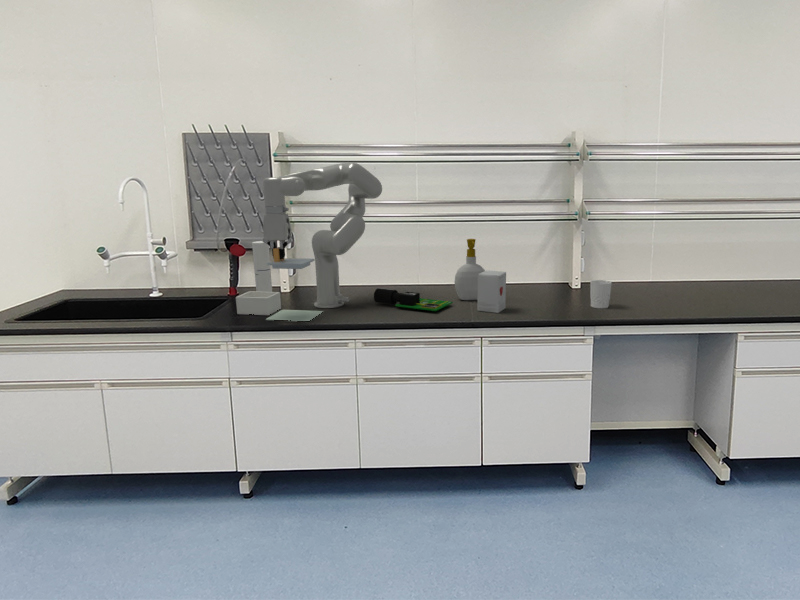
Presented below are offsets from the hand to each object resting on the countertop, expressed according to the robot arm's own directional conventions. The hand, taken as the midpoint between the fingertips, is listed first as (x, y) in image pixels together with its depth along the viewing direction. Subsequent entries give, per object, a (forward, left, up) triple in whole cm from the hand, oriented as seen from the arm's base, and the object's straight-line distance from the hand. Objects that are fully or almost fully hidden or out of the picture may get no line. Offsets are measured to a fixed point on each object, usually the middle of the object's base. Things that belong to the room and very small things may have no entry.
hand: (279, 258), depth 215 cm
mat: (-5, 0, -23) cm, 23 cm away
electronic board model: (-47, -23, -23) cm, 57 cm away
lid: (-5, 0, -3) cm, 6 cm away
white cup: (-122, -32, -23) cm, 128 cm away
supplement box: (-80, -21, -23) cm, 86 cm away
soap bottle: (-70, -37, -23) cm, 83 cm away
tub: (+13, -5, -23) cm, 27 cm away
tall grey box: (+24, -31, -23) cm, 46 cm away
